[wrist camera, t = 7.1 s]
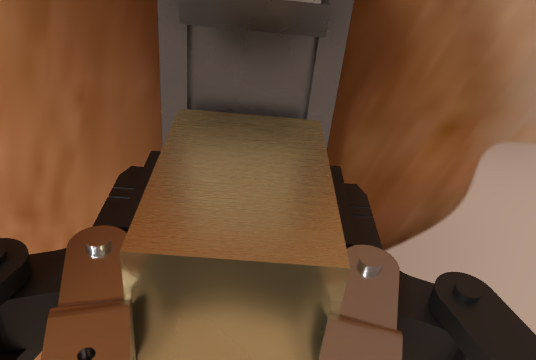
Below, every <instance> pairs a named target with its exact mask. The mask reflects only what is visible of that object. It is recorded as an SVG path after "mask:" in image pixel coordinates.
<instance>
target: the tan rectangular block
mask: <svg viewBox="0 0 536 360" xmlns="http://www.w3.org/2000/svg"><path fill="white" fill-rule="evenodd" d="M120 260H121V270H122V279H123V286H125V287H131V293H132V303H133V329H134V341H135V351H136V356H138V360H318V359H319V354H320V350H321V346H322V341H323V337H324V332H325V328H326V323H327V318H328V314H329V310H330V305H331V301H340V302H342V300H343V296H344V292H345V288H346V284H347V280H348V276H349V272H350V264H349V259H348V254H347V249H346V244H345V239H344V234H343V229H342V224H341V219H340V214H339V209H338V205H337V200H336V195H335V190H334V185H333V180H332V175H331V170H330V165H329V160H328V155H327V150H326V145H325V140H324V135H323V130H322V125H321V121H319V120H308V119H296V118H284V117H273V116H261V115H250V114H238V113H227V112H215V111H203V110H192V109H180V108H179V109H178V111H177V114H176V116H175V119H174V121H173V124H172V126H171V128H170V131H169V133H168V136H167V138H166V140H165V143H164V145H163V148H162V150H161V153H160V155H159V157H158V160H157V162H156V165H155V167H154V169H153V172H152V174H151V177H150V179H149V182H148V184H147V186H146V189H145V191H144V194H143V196H142V198H141V201H140V203H139V206H138V208H137V211H136V213H135V215H134V218H133V220H132V223H131V225H130V227H129V230H128V232H127V235H126V237H125V240H124V242H123V244H122V247H121V249H120Z"/></svg>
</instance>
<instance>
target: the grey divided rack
mask: <svg viewBox="0 0 536 360" xmlns="http://www.w3.org/2000/svg"><path fill="white" fill-rule="evenodd" d="M353 4H354V0H157V6H158V35H159V63H160V92H161V120H162V148H163V145H164V143H165V140H166V138H167V136H168V133H169V131H170V128H171V126H172V124H173V121H174V119H175V116H176V114H177V111H178V109H179V108H180V109H192V110H203V111H215V112H227V113H238V114H250V115H261V116H273V117H284V118H296V119H308V120H319V121H321V125H322V130H323V135H324V140H325V145H326V150H327V146H328V140H329V135H330V129H331V124H332V118H333V113H334V108H335V102H336V97H337V91H338V86H339V80H340V75H341V69H342V64H343V58H344V53H345V48H346V42H347V37H348V31H349V26H350V20H351V15H352V9H353Z"/></svg>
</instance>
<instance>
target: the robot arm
mask: <svg viewBox="0 0 536 360" xmlns="http://www.w3.org/2000/svg"><path fill="white" fill-rule="evenodd" d="M160 153H161V151H151V152H150V154H149V157H148V159H147V161H146V163H145V166H144V167H137V166H131V167H130V168H128V169H127V170H126V171H124V172H123V173H121V174H120V175H119V177H118V178H117V180H116V182H115V184H114V187H113V188H112V190H111V192H110V194H109V198H107V200H106V202H105V203H104V205H103V207H102V209H101V211H100V213H99V215H98V217H97V219H96V221H95V223H94V225H93V227H89V228H87V229H84V230H82V231H80V232H78V233H77V234H75V235H74V236H73V237H72V238H71V239H70V240H69V242H68V244H67V247H66V248H64V249H61V250H56V251H50V252H43V253H37V254H30V255H29V253H28V249H27V247H26V246H25V244H23V243H22V242H20V241H18V240H15V239H10V238H0V360H34V359H35V358H36V357H37V356H38V355H39V353H40V352H41V351H42V355H41V360H138V356H136V351H135V341H134V329H133V303H132V293H131V287H125V286H123V279H122V270H121V260H120V249H121V247H122V244H123V242H124V240H125V237H126V235H127V232H128V230H129V227H130V225H131V223H132V220H133V218H134V215H135V213H136V211H137V208H138V206H139V203H140V201H141V198H142V196H143V194H144V191H145V189H146V186H147V184H148V182H149V179H150V177H151V174H152V172H153V169H154V167H155V165H156V162H157V160H158V157H159V155H160ZM330 170H331V175H332V180H333V185H334V190H335V195H336V200H337V205H338V209H339V214H340V219H341V224H342V229H343V234H344V239H345V244H346V249H347V254H348V259H349V264H350V272H349V276H348V280H347V284H346V288H345V292H344V296H343V300H342V302H340V301H331V305H330V310H329V314H328V318H327V323H326V328H325V332H324V337H323V341H322V346H321V350H320V354H319V359H318V360H536V335H535V334H534V333H533V332H532V331H531V330H530V329H529V327H528V326H526V324H525V323H524V322H523V321H522V320H521V319H520V318H519V317H518V316H517V315H516V314H515V313H514V312H513V311H512V310H511V309H510V308H509V307H508V306H507V305H506V303H505V302H503V300H502V299H501V298H500V297H499V296H498V295H497V294H496V293H495V292H494V291H493V290H492V289H491V288H490V287H489V286H488V285H486V284H485V283H484V282H482V281H481V280H479V279H478V278H476V277H473V276H471V275H468V274H465V273H460V272H447V273H444V274H442V275H440V276H439V277H438V278H437V279H436V281H435V284H434V283H430V282H427V281H424V280H421V279H418V278H414V277H411V276H409V275H407V274H405V273H403V272H401V271H399V266H398V263H397V262H396V260H395V259H394V258H393V257H392V256H391V255H390V254H389V253H387V252H386V251H384V250H383V248H382V245H381V242H380V238H379V235H378V232H377V228H376V225H375V222H374V218H373V215H372V212H371V209H370V205H369V202H368V198H367V195H366V194H365V193H364V192H363V191H362V190H361V189H360V188H359V187H358V185H357V184H346V183H344V180H343V176H342V172H341V168H340V166H330Z"/></svg>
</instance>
